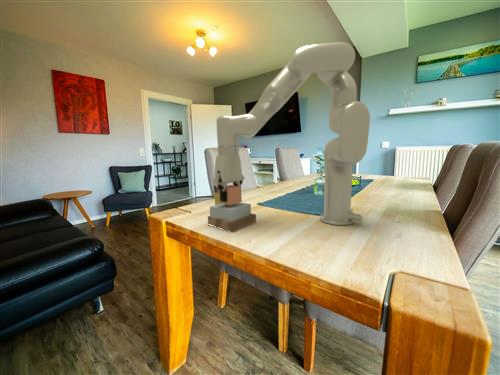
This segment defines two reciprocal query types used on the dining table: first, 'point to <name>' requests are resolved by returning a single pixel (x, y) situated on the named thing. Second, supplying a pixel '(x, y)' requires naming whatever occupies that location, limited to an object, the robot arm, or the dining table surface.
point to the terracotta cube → (232, 195)
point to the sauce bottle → (216, 195)
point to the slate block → (230, 211)
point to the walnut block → (233, 223)
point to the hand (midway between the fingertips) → (230, 199)
